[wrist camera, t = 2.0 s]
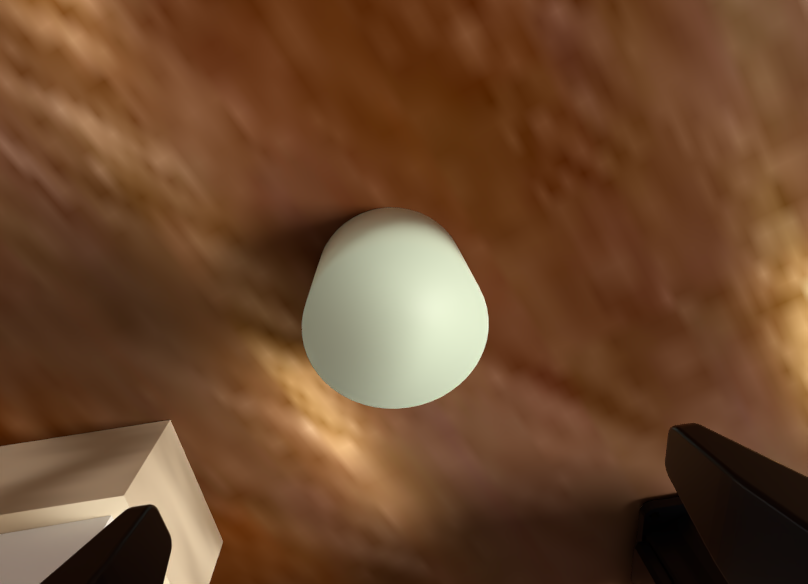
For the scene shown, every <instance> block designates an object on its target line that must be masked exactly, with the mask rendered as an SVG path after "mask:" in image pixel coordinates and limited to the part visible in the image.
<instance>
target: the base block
mask: <svg viewBox="0 0 808 584" xmlns="http://www.w3.org/2000/svg"><path fill="white" fill-rule="evenodd" d="M147 504H151V505H154V506H156V507H157V509H158V510H159V512H160V514H161V516H162V518H163V521H164V523H165V525H166V527H167V529H168V531H169V533H170V535H171V539H172V550H171V554H170V559H169V563H168V567H167V571H166V575H165V579H164V583H163V584H209V583H210V580H211V577H212V574H213V571H214V568H215V565H216V561H217V558H218V555H219V552H220V549H221V546H222V543H223V540H222V538H221V536H220V533H219V531H218V529H217V526H216V524H215V522H214V520H213V517H212V515H211V513H210V510H209V508H208V506H207V503H206V501H205V499H204V496H203V494H202V492H201V490H200V487H199V485H198V483H197V480H196V478H195V476H194V473H193V471H192V469H191V467H190V464H189V462H188V460H187V457H186V455H185V453H184V450H183V448H182V446H181V443H180V441H179V439H178V437H177V434H176V432H175V430H174V427H173V425H172V423H171V420H167V421H160V422H154V423H147V424H141V425H135V426H128V427H122V428H115V429H109V430H102V431H96V432H90V433H83V434H77V435H70V436H64V437H57V438H51V439H45V440H38V441H32V442H25V443H19V444H12V445H6V446H0V534H5V533H11V532H17V531H22V530H28V529H34V528H40V527H46V526H52V525H58V524H64V523H69V522H75V521H81V520H87V519H93V518H99V517H105V516H110V515H112V517H113V519H115V518H117V517H118V516H119V515H120V514H121V513H122V512H124V511H125V510H126V509H128V508H130V507H134V506H141V505H147Z"/></svg>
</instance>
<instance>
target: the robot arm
mask: <svg viewBox="0 0 808 584" xmlns="http://www.w3.org/2000/svg"><path fill="white" fill-rule="evenodd" d="M665 466H666V471H667V473H668V476H669V478H670V480H671V482H672V484H673V485H674V487H675V489H676V491H677V493H678V495H679V497H675V498H669V499H662V500H655V501H650V502H647V503H645V504H643V505H642V507H641V508H640V511H639V522H638V532H637V542H636V544H635V547H634V553H633V563H632V574H631V581H632V583H633V584H808V477H806V476H804V475H802V474H800V473H798V472H796V471H794V470H792V469H790V468H788V467H786V466H784V465H782V464H780V463H778V462H776V461H774V460H772V459H769V458H767V457H765V456H763V455H761V454H759V453H757V452H755V451H753V450H751V449H749V448H747V447H745V446H743V445H741V444H739V443H737V442H735V441H732V440H730V439H728V438H726V437H724V436H722V435H720V434H718V433H716V432H714V431H712V430H710V429H708V428H706V427H704V426H702V425H699V424H696V423H689V424H682V425H675V426H673V427H671V428H670V430H669V433H668V440H667V449H666V458H665ZM171 550H172V539H171V535H170V533H169V531H168V529H167V527H166V525H165V523H164V521H163V518H162V516H161V514H160V512H159V510H158V509H157V507H156V506H154V505H151V504H147V505H141V506H134V507H130V508H128V509H126V510H125V511H124V512H122V513H121V514H120V515H119V516H118V517H117V518H115V519H114V520H113V521H112V522H111V523H110V524H108V525H107V526H106V527H105V528H104V529H103V530H101V531H100V532H99V533H98V534H97V535H96V536H94V537H93V538H92V539H91V540H90V541H89V542H87V543H86V544H85V545H84V546H83V547H82V548H80V549H79V550H78V551H77V552H76V553H75V554H73V555H72V556H71V557H70V558H69V559H68V560H67V561H65V562H64V563H63V564H62V565H61V566H60V567H58V568H57V569H56V570H55V571H54V572H53V573H51V574H50V575H49V576H48V577H47V578H46V579H44V580H43V581H42V582H41V583H40V584H163V583H164V579H165V575H166V571H167V567H168V563H169V559H170V554H171Z"/></svg>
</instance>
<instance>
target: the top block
mask: <svg viewBox="0 0 808 584" xmlns="http://www.w3.org/2000/svg"><path fill="white" fill-rule="evenodd" d="M113 520H114V519H113V517H112V515H110V516H105V517H99V518H93V519H87V520H81V521H75V522H69V523H64V524H58V525H52V526H46V527H40V528H34V529H28V530H22V531H17V532H11V533H5V534H0V584H40V583H41V582H42V581H43V580H44V579H46V578H47V577H48V576H49V575H50V574H51V573H53V572H54V571H55V570H56V569H57V568H58V567H60V566H61V565H62V564H63V563H64V562H65V561H67V560H68V559H69V558H70V557H71V556H72V555H73V554H75V553H76V552H77V551H78V550H79V549H80V548H82V547H83V546H84V545H85V544H86V543H87V542H89V541H90V540H91V539H92V538H93V537H94V536H96V535H97V534H98V533H99V532H100V531H101V530H103V529H104V528H105V527H106V526H107V525H108V524H110V523H111V522H112V521H113Z"/></svg>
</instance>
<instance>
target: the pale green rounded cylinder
mask: <svg viewBox="0 0 808 584" xmlns="http://www.w3.org/2000/svg"><path fill="white" fill-rule="evenodd" d="M487 335H488V312H487V307H486V303H485V300H484V297H483V295H482V293H481V291H480V288H479V286H478V284H477V283H476V281H475V279H474V277H473V275H472V273H471V271H470V270H469V268H468V266H467V264H466V262H465V260H464V258H463V256H462V255H461V253H460V251H459V249H458V247H457V245H456V243H455V242H454V240H453V239H452V237H451V236H450V234H449V233H448V232H447V231H446V230H445V229H444V228H443V227H442V226H441V225H440V224H438V223H437V222H436V221H434V220H433V219H431V218H430V217H428V216H426V215H424V214H422V213H419V212H416V211H413V210H409V209H404V208H392V207H389V208H379V209H374V210H370V211H367V212H364V213H361V214H359V215H357V216H355V217H353V218H351V219H350V220H349V221H347V222H346V223H344V224H343V225H342V226H341V227H340V228H339V229H338V230H336V232H335V233H334V234H333V235H332V236H331V238H330V239H329V241H328V242H327V244H326V246H325V248H324V250H323V252H322V255H321V258H320V261H319V264H318V267H317V270H316V273H315V276H314V279H313V282H312V286H311V289H310V292H309V295H308V298H307V301H306V304H305V308H304V312H303V318H302V338H303V344H304V348H305V351H306V354H307V357H308V358H309V360H310V362H311V364H312V366H313V368H314V369H315V371H316V372H317V373H318V375H319V376H320V377H321V378H322V379H323V380H324V381H325V382H326V383H327V384H328V385H329V386H330V387H331V388H333V389H334V390H335V391H337V392H338V393H340V394H341V395H343V396H345V397H347V398H349V399H351V400H353V401H355V402H358V403H361V404H364V405H368V406H372V407H379V408H395V409H398V408H408V407H413V406H418V405H422V404H425V403H428V402H431V401H433V400H435V399H438V398H440V397H442V396H443V395H445V394H447V393H449V392H450V391H452V390H453V389H454V388H456V387H457V386H458V385H459V384H460V383H461V382H463V381H464V380H465V379H466V378H467V377H468V375H469V374H470V373H471V372H472V370H473V369H474V368H475V366H476V364H477V363H478V361H479V360H480V357H481V355H482V353H483V351H484V348H485V344H486V341H487Z"/></svg>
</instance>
